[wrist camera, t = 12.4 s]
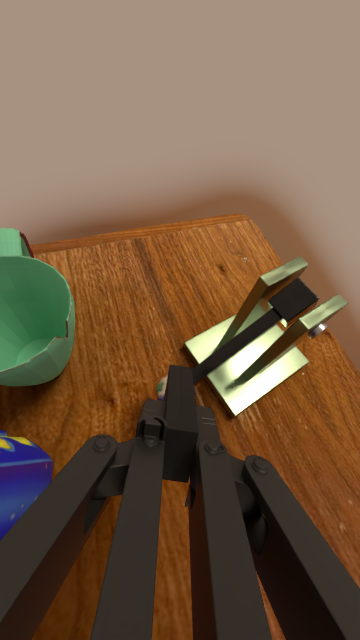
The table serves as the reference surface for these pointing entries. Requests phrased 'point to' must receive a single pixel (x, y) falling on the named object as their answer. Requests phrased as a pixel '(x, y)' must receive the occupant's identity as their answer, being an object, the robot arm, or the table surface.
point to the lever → (252, 331)
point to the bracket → (260, 343)
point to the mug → (32, 315)
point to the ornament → (20, 477)
